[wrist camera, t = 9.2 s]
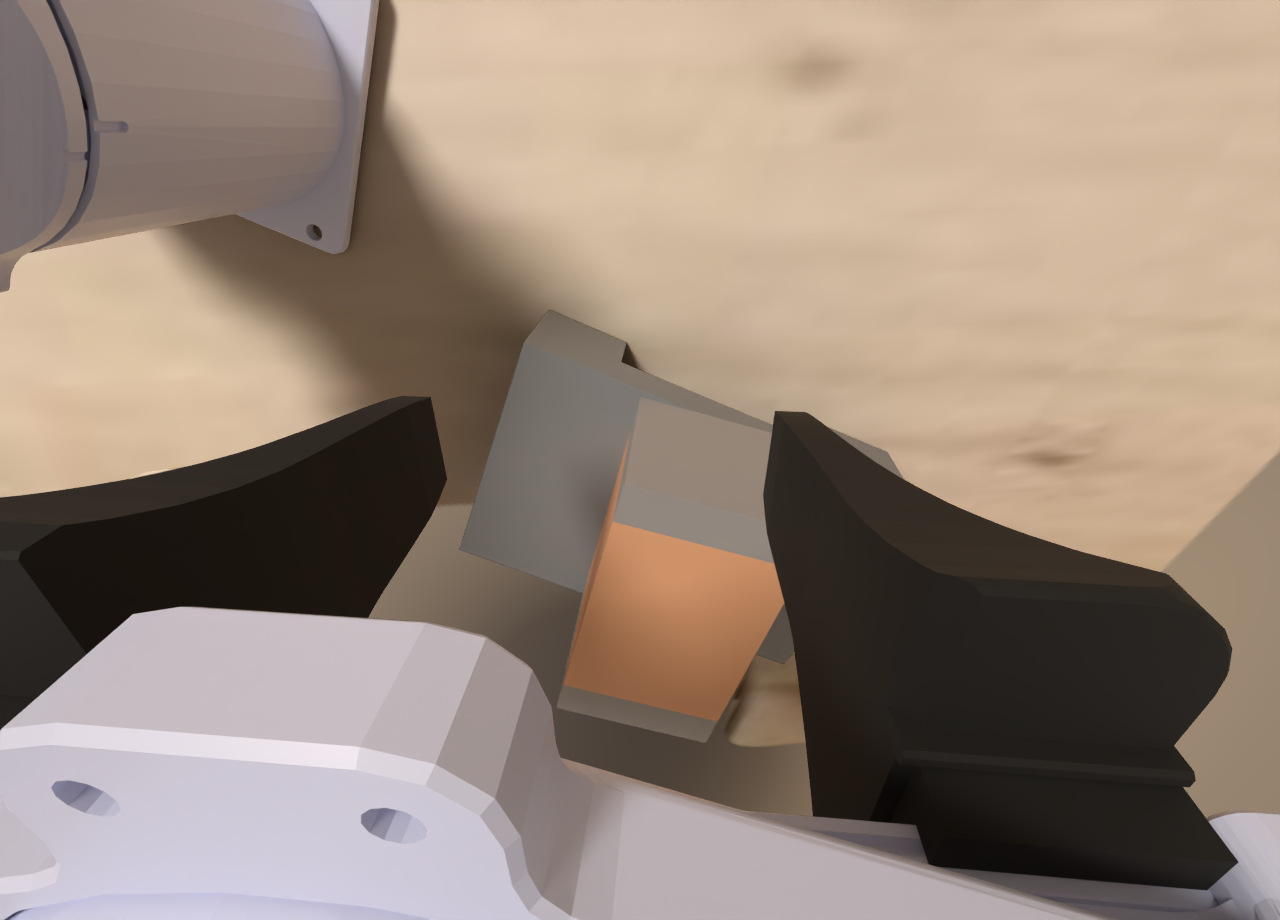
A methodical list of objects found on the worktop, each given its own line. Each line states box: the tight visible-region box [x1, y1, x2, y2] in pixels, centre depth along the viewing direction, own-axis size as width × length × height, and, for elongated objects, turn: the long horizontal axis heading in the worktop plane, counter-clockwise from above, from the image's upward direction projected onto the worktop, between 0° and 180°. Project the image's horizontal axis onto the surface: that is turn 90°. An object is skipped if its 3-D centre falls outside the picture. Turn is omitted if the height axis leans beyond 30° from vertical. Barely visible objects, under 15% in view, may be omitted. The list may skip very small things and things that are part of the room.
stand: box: [460, 310, 903, 664], centre depth 22 cm, size 14×9×4 cm, turn 68°
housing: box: [557, 397, 784, 743], centre depth 18 cm, size 9×5×5 cm, turn 165°
